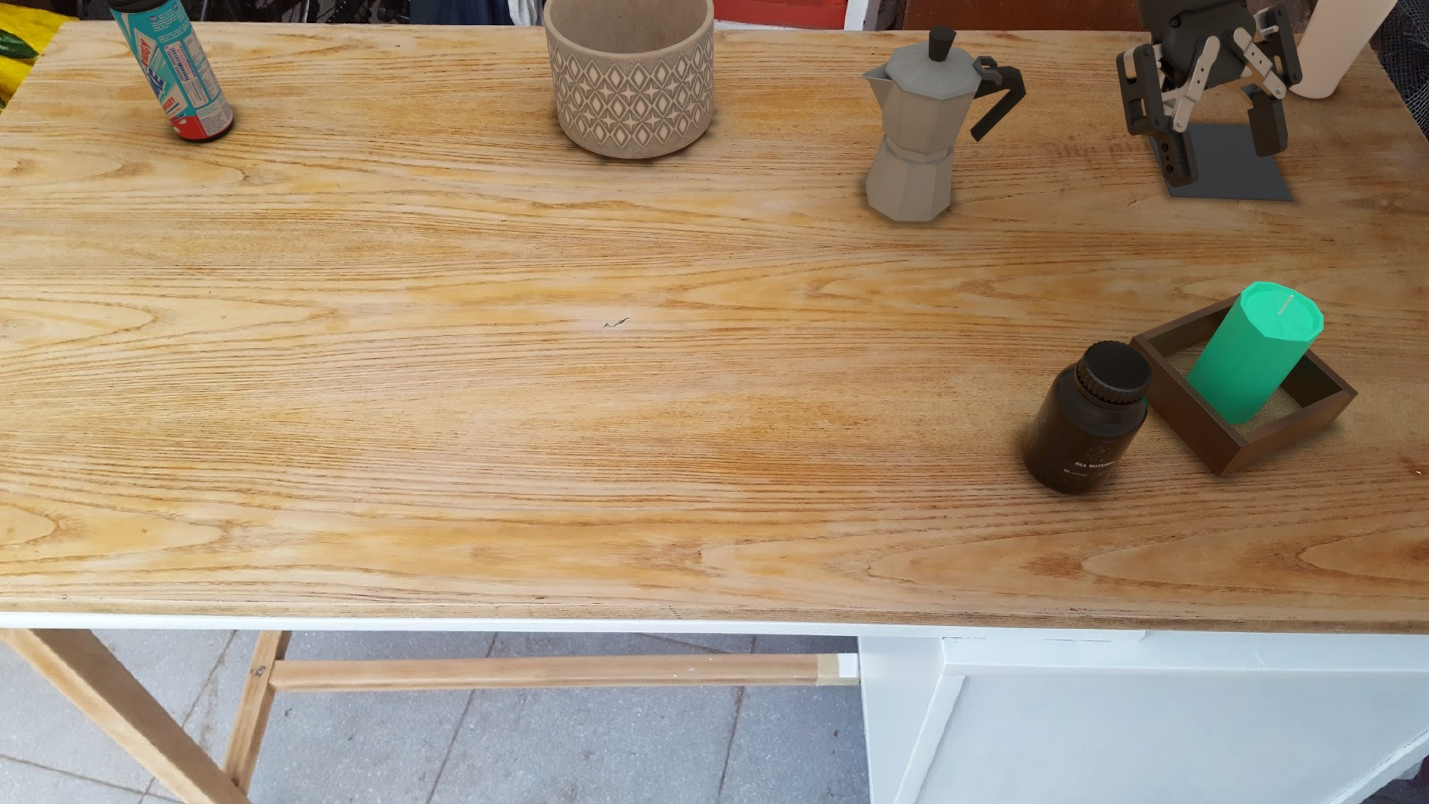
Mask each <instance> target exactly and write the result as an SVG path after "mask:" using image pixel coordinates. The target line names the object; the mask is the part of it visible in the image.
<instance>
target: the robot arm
mask: <svg viewBox="0 0 1429 804" xmlns="http://www.w3.org/2000/svg"><path fill="white" fill-rule="evenodd" d="M1134 2H1135V6H1136V11H1137V17H1138V20H1139V25H1140V26H1141V28H1142V29H1144V30H1147V31H1149V32H1150V36H1151V37H1150V43H1147V42H1146V43H1143V44H1140V45H1138V46H1135V47H1132V48H1130V49H1128V50H1124V51H1122V52H1119V53H1118V54H1117V55H1116V58H1115V64H1116V71H1117V77H1118V82H1119V83H1118V84H1119V87H1120V88H1119V90H1120V94H1121V100H1122V106H1123V111H1124V118H1125V124H1126V130H1127V132H1128V134H1129V135H1130V136H1132V137H1136V136H1146V137H1148V136H1151V137H1152V138H1154V139H1155V141H1156V143H1157V148H1158V152H1159V157H1160V161H1161V166H1162V171H1163V174H1162V176H1163V175H1164V177H1165V179H1166V180H1167V181H1168V182H1169V184H1170V185H1171V186H1172V187H1179V186H1185V185H1189V184H1192V183H1195V182H1197V181H1198V180H1199V172H1198V167H1197V162H1196V157H1195V153H1194V148H1193V143H1192V138H1191V134H1190V131H1186V132H1183V131H1184V130H1185V129H1186V127H1187V124H1188V123H1189V122H1190V118H1191V116H1192V111H1193V108H1194V106H1195V104H1197V103H1198V102H1199V101H1200V100H1201V98H1202V97H1203V93H1204V91H1207V90H1210V89H1213V88H1216V87H1218V86H1221V85H1223V87H1225V88H1226V89H1227V90H1232V91H1234V92H1236V93H1237V94H1238V95H1239V96H1240V97H1241V98H1242V99H1243V100H1244V101H1245V102H1246V103H1247V104H1248V105H1249V106H1251V107H1252V108H1249V109H1248V108H1247V110H1246V112H1247V116H1248V123H1249V125H1250V127H1251V132H1252V137H1253V142H1254V147H1255V152H1256V154H1257V155H1258V156H1259V157H1264V156H1269V155H1272V156H1273V155H1278V154H1281V153H1284V152H1286V150H1287V149H1288V141H1289V132H1288V127H1287V122H1286V116H1285V111H1284V105H1283V99H1284V97H1286V94H1287V91H1288V90H1289V88H1290V87H1292V86H1293V85H1297V84H1299V83H1300V82H1301V81H1302V78H1303V75H1302V70H1301V66H1300V62H1299V57H1298V53H1297V44H1296V41H1295V37H1294V32H1293V28H1292V24H1291V20H1290V16H1289V12H1288V8H1287V5H1285V4H1284V3H1278V4H1276V5H1273V6H1268V7H1265V8H1263V9H1259V10H1258V11H1256V12H1253V13H1252V12H1251V11H1250V9H1249V6H1248V1H1247V0H1134ZM1275 57H1278V58H1279V60H1280V65H1281V68H1282V71H1280V72H1278V69H1277V65H1276V61H1275V60H1276V59H1275ZM1158 70H1159V71H1160V72H1161V73H1160V77H1159V71H1158ZM1142 101H1143V103H1142ZM1143 106H1144V109H1143ZM1144 112H1145V115H1144ZM1162 171H1161V172H1162ZM1164 177H1163V178H1164Z"/></svg>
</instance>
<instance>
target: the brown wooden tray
mask: <svg viewBox="0 0 1429 804" xmlns="http://www.w3.org/2000/svg"><path fill="white" fill-rule="evenodd" d="M1240 294H1241V292H1239V293H1238V294H1235V295H1233V296H1230V297H1228V298H1225V299H1223V300H1220V301H1217V302H1215V303H1213V304H1210V305H1208V306H1206V307H1203V308H1200V309H1198V310H1196V311H1193V312H1191V313H1188V314H1185V315H1183V316H1181V317H1178V318H1176V319H1173V320H1171V321H1168V322H1166V323H1163V324H1161V325H1157V326H1156V327H1154V328H1151V329H1149V330H1146V331H1143V332H1141V333H1138V334H1136V335H1133V336H1132V337H1131V339H1130V341H1129V343H1128V345H1131V346H1132V347H1134V348H1136V349H1138V350H1139V351H1140V352H1142V353H1143V355H1144V356H1145V357H1147V360H1148V361H1149V362H1150V365H1151V366H1152V371H1153V375H1152V376H1153V379H1152V381H1151V384H1150V385H1149V387H1148V389H1147V391H1146V393H1145V394H1146V397H1147V401H1148V406H1150V407H1151V408H1152V409H1153V410H1154V411H1155V412H1156V413H1157V414H1158V415H1159V417H1160V418H1161V419H1162V420H1163V421H1164V422H1165V423H1166V424H1167V425H1168V426H1169V427H1170V428H1171V429H1172V430H1173V432H1174V433H1176V435H1177V436H1178V437H1179V438H1180V439H1181V440H1182V441H1183V442H1184V443H1185V444H1186V446H1188V447H1189V448H1190V450H1191V451H1192V452H1193V453H1194V454H1195V455H1196V456H1197V457H1198V458H1199V459H1200V460H1201V462H1202V463H1204V465H1206V467H1207V468H1208V469H1209V470H1210V471H1211V472H1212V473H1213V474H1214V475H1215V476H1216V477H1217V478H1220V477H1222V476H1224V475H1226V474H1228V473H1230V472H1233V471H1234V470H1236V469H1238V468H1241V467H1243V466H1245V465H1248V464H1250V463H1252V462H1254V461H1256V460H1258V459H1260V458H1262V457H1265V456H1266V455H1269V454H1271V453H1273V452H1275V451H1277V450H1279V449H1281V448H1283V447H1286V446H1288V445H1291V444H1292V443H1294V442H1296V441H1299V440H1300V439H1302V438H1305V437H1307V436H1309V435H1311V434H1313V433H1315V432H1318V431H1320V430H1322V429H1324V428H1326V427H1329V426H1331V425H1332V424H1333V423H1334V421H1335V420H1337V418H1338V417H1339V416H1340V415H1341V414H1342V413H1343V412H1344V411H1345V410H1346V408H1347V407H1348V406H1349V405H1350V404H1351V403H1352V401H1354V399H1355V398H1356V397H1358V395H1359V392H1358V391H1357V390H1356V389H1355V388H1354V387H1353V386H1352V385H1350V384H1349V383H1348V382H1347V381H1346V380H1345V379H1344V378H1343V377H1342V376H1341V375H1339V374H1338V373H1337V372H1336V371H1335V370H1334V369H1333V368H1331V367H1330V366H1329V365H1328V364H1327V363H1326V362H1325V361H1324V360H1322V359H1321V358H1320V357H1319V356H1318V355H1317V354H1316V353H1314V352H1313V350H1311V349H1310V347H1309V348H1308V349H1307V351H1306V352H1305V353H1304V355H1303V356H1302V357H1301V358H1300V360H1299V361H1298V362H1297V363H1296V365H1295V366H1294V367H1293V369H1292V370H1291V371H1290V372H1289V374H1288V375H1287V376H1286V378H1285V379H1284V380H1283V381H1282V383H1281V384H1280V385H1279V387H1280V388H1281V389H1282V390H1283V391H1285V392H1286V393H1287V394H1288V395H1289V396H1290V397H1291V398H1292V399H1293V400H1294V401H1296V403H1297V404H1298V405H1299V406H1300V407H1302V408H1300V409H1298V410H1296V411H1293V412H1292V413H1289V414H1287V415H1285V416H1283V417H1281V418H1279V419H1276V420H1274V421H1271V422H1270V423H1267V424H1265V425H1263V426H1261V427H1259V428H1257V429H1254V430H1252V431H1250V432H1248V433H1246V434H1243V435H1241V434H1240V433H1239V432H1238V431H1237V430H1236V429H1235V428H1234V426H1232V424H1229V423H1228V422H1227V421H1226V420H1225V419H1224V418H1223V417H1222V416H1221V415H1220V414H1219V413H1218V412H1217V411H1216V410H1215V409H1214V408H1213V407H1212V406H1211V405H1210V404H1209V403H1208V402H1207V401H1206V400H1205V399H1204V398H1203V397H1202V396H1201V395H1200V394H1199V393H1198V392H1197V391H1196V390H1195V388H1194V387H1193V386H1192V385H1191V384H1190V383H1189V382H1188V381H1187V380H1186V378H1185V377H1184V375H1182V374H1181V373H1180V372H1179V371H1178V370H1177V369H1176V368H1175V367H1174V366H1173V365H1172V364H1171V363H1170V361H1168V360H1167V359H1166V357H1168V356H1170V355H1172V354H1173V355H1174V354H1175V353H1178V352H1180V351H1183V350H1185V349H1187V348H1189V347H1192V346H1194V345H1197V344H1199V343H1202V342H1204V341H1206V340H1209V339H1212V337H1213V336H1214V334H1215V332H1216V331H1217V329H1218V328H1219V326H1220V325H1221V323H1222V322H1223V320H1224V319H1225V317H1226V315H1227V314H1228V312H1229V311H1230V309H1231V308H1232V306H1233V305H1234V303H1235V302H1236V300H1237V299H1238V297H1239V295H1240Z"/></svg>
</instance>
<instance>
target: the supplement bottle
mask: <svg viewBox="0 0 1429 804" xmlns="http://www.w3.org/2000/svg"><path fill="white" fill-rule="evenodd" d="M1152 375H1153V371H1152V366H1151V365H1150V362H1149V361H1148V360H1147V357H1145V356H1144V355H1143V353H1142V352H1140V351H1139V350H1138V349H1136V348H1134V347H1132V346H1131V345H1129V344H1127V343H1126V342H1122V341H1119V340H1112V339H1111V340H1102V341H1100V340H1099V341H1097V342H1094V343H1093V344H1091V345H1089V346H1088V347H1087V349H1086V350H1085V351H1084V353H1083V354H1082V356H1081V358H1079V359H1078V361H1076V362H1073V363H1071V364H1069V365H1067V366H1065V367H1064V368H1062V369H1061V370H1060V371H1059V372H1058V373H1057V375H1056V376H1055V378H1054V380H1053V381H1052V383H1051V385H1050V387H1049V389H1048V391H1047V393H1046V394H1045V396H1044V399H1043V401H1042V403H1041V405H1040V406H1039V409H1038V411H1037V413H1036V415H1035V417H1034V419H1033V421H1032V423H1031V425H1030V427H1029V429H1028V432H1027V434H1026V436H1025V438H1024V441H1023V443H1022V452H1021V453H1022V459H1023V462H1024V465H1025V467H1026V468H1027V470H1028V472H1029V473H1030V474H1031V475H1032V477H1033V478H1034V479H1035V480H1036V481H1037V482H1039V483H1040V484H1041V485H1043V486H1045V487H1046V488H1048V489H1050V490H1052V491H1055V492H1056V493H1057V492H1058V493H1061V494H1065V495H1071V496H1072V495H1073V496H1080V495H1087V494H1090V493H1093V492H1095V491H1097V490H1098V489H1100V488H1101V487H1102V486H1103V485H1104V483H1105V482H1106V481H1107V480H1108V478H1109V477H1110V476H1111V474H1112V472H1113V471H1114V469H1115V468H1116V467H1117V465H1118V463H1119V462H1120V460H1121V459H1122V457H1123V456H1124V454H1125V452H1126V451H1127V450H1128V449H1129V447H1130V445H1131V443H1132V442H1133V440H1134V439H1135V437H1136V436H1137V434H1138V433H1139V431H1140V430H1141V428H1142V427H1143V425H1144V423H1145V421H1146V419H1147V416H1148V412H1149V404H1148V401H1147V397H1146V394H1145V393H1146V391H1147V389H1148V387H1149V385H1150V384H1151V381H1152V379H1153V376H1152Z"/></svg>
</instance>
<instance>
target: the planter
mask: <svg viewBox="0 0 1429 804" xmlns="http://www.w3.org/2000/svg"><path fill="white" fill-rule="evenodd" d="M542 16H543V24H544V31H545V37H546V44H547V51H548V57H549V58H548V59H549V65H550V72H551V78H552V86H553V92H554V99H555V106H556V112H557V119H558V123H559V125H560V127H561V129H562V131H563V132H564V133H565V135H566V136H567V137H568V138H569V139H570V140H571V141H573V142H574V143H575V144H577V145H578V146H580V147H581V148H582V149H585V150H587V151H590V152H592V153H595V154H598V155H601V156H604V157H605V156H606V157H611V158H617V159H627V160H628V159H632V160H633V159H634V160H639V159H649V158H656V157H660V156H661V157H662V156H665V155H668V154H671V153H674V152H677V151H679V150H681V149H683V148H686V147H687V146H688V145H690V144H692V143H694V142H695V141H696V140H698V138H700V137H701V136H702V135H703V134H704V133H705V132H706V130H707V129H708V127H709V126H710V124H711V121H712V119H713V115H714V68H715V67H714V66H715V64H714V63H715V61H714V56H715V55H714V54H715V53H714V52H715V51H714V50H715V41H714V40H715V6H714V2H713V0H546V1H545V3H544V6H543V12H542Z"/></svg>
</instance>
